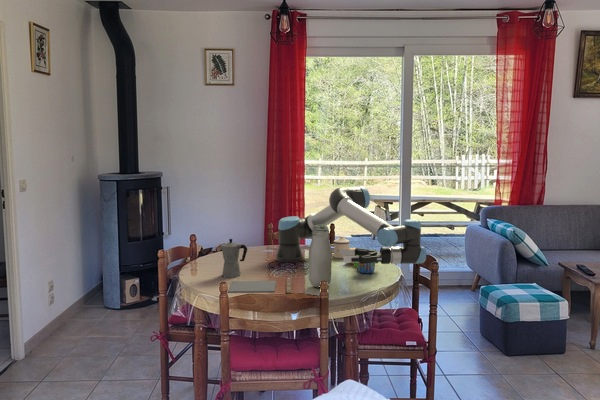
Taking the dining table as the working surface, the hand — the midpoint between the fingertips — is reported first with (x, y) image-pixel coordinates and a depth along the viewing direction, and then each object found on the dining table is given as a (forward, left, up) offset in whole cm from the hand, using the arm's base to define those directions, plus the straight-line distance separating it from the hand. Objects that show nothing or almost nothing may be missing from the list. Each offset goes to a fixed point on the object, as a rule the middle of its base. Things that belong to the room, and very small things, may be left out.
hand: (341, 255), depth 217 cm
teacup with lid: (-59, +4, -14) cm, 61 cm away
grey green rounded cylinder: (0, -10, -14) cm, 17 cm away
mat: (-1, -40, -14) cm, 42 cm away
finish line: (0, -24, -14) cm, 27 cm away
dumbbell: (-37, +12, -14) cm, 41 cm away
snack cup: (-24, +15, -14) cm, 31 cm away
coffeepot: (-21, -50, -14) cm, 57 cm away
